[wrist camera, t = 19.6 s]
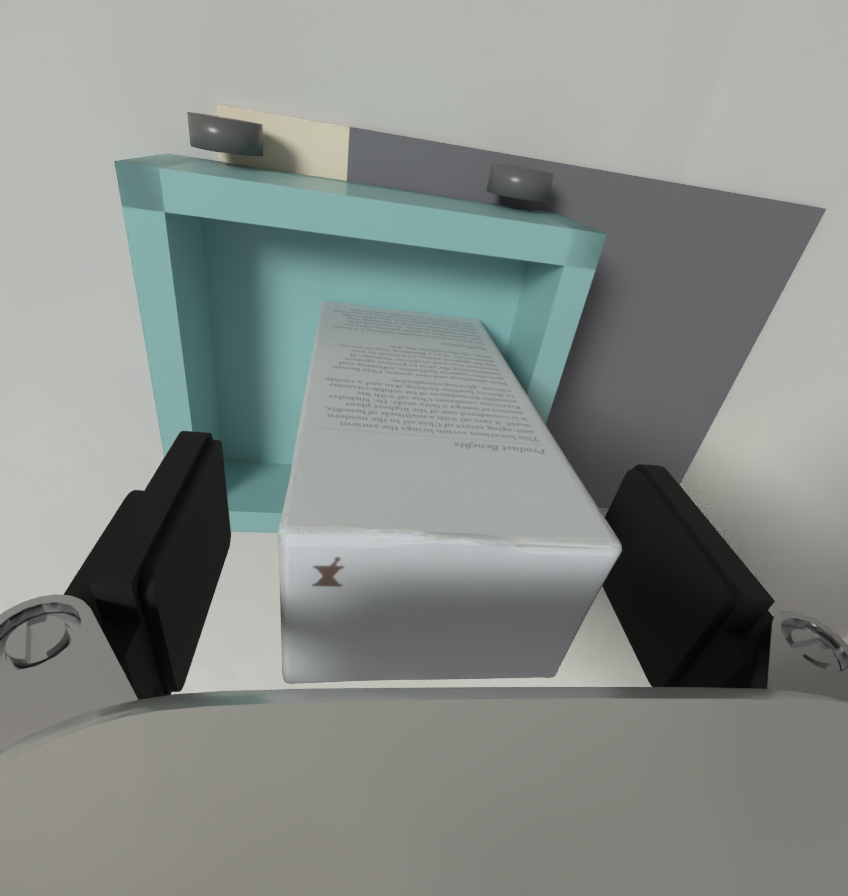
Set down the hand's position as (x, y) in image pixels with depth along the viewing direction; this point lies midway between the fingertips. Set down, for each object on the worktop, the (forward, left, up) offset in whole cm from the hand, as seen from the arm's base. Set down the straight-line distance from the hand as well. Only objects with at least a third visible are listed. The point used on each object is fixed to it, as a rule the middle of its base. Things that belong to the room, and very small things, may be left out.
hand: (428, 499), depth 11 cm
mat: (-5, +1, -10) cm, 11 cm away
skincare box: (0, 0, -9) cm, 9 cm away
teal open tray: (+1, +1, -10) cm, 10 cm away
